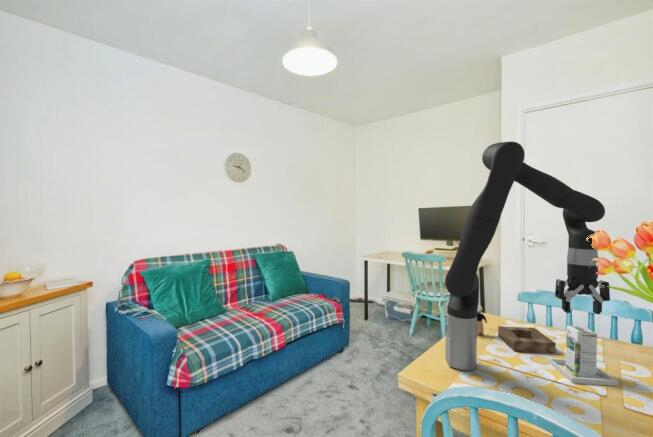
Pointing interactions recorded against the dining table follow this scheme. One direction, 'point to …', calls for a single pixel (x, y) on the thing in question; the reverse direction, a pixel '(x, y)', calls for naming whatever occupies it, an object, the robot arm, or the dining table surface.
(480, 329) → the grandmother figurine
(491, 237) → the robot arm
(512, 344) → the socket block
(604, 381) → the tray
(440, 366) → the dining table surface
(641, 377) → the dining table surface
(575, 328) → the syrup box
